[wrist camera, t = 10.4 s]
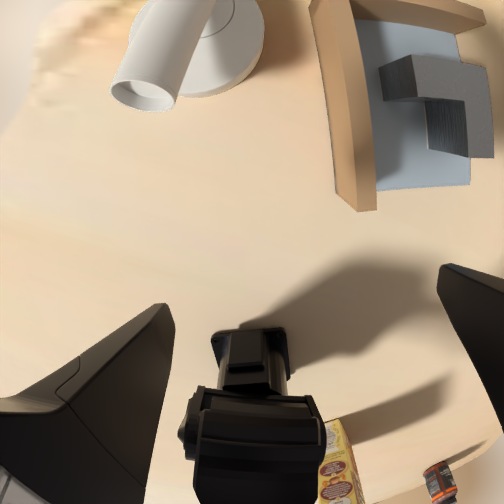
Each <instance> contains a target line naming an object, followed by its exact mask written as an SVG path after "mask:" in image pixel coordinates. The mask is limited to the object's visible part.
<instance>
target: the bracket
mask: <svg viewBox="0 0 504 504" xmlns="http://www.w3.org/2000/svg"><path fill="white" fill-rule="evenodd" d="M378 71H379V77H380V83H381V89H382V96H383V101H393V102H420V103H424V104H425V113H426V122H427V134H428V149H432V150H437V151H441V152H446V153H450V154H455V155H459V156H463V157H467V158H494V139H493V122H492V111H491V101H490V93H489V86H488V80H487V74H486V68H485V67H481V66H477V65H472V64H468V63H463V62H458V61H453V60H448V59H442V58H436V57H430V56H422V55H415V54H410V55H407V56H405V57H402V58H400V59H397V60H395V61H393V62H390V63H388V64H385V65H383V66H381V67H378Z"/></svg>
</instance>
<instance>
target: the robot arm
mask: <svg viewBox="0 0 504 504" xmlns="http://www.w3.org/2000/svg"><path fill="white" fill-rule="evenodd" d="M437 293H438V295H439V297H440V300H441V302H442V304H443V306H444V308H445V310H446V312H447V314H448V317H449V319H450V321H451V323H452V325H453V327H454V329H455V331H456V333H457V335H458V337H459V338H460V340H461V342H462V344H463V346H464V347H465V349H466V351H467V353H468V355H469V357H470V359H471V361H472V363H473V365H474V367H475V369H476V371H477V373H478V375H479V377H480V379H481V381H482V383H483V385H484V387H485V389H486V392H487V394H488V396H489V398H490V400H491V403H492V405H493V407H494V410H495V412H496V415H497V417H498V419H499V422H500V424H501V426H502V430H503V433H504V279H502V278H499V277H495V276H492V275H489V274H486V273H483V272H479V271H476V270H473V269H469V268H466V267H463V266H459V265H456V264H452V263H448V264H443V265H441V266H440V269H439V275H438V282H437ZM278 333H282V334H278ZM174 338H175V323H174V320H173V317H172V314H171V311H170V308H169V306H168V304H166V303H158V304H154V305H152V306H151V307H149V308H148V309H146V310H145V311H143V312H142V313H140V314H139V315H137V316H136V317H135V318H133V319H132V320H130V321H129V322H127V323H126V324H124V325H123V326H121V327H120V328H118V329H117V330H115V331H114V332H113V333H111V334H110V335H108V336H107V337H105V338H104V339H102V340H101V341H99V342H98V343H96V344H95V345H94V346H92V347H91V348H89V349H88V350H86V351H85V352H83V353H82V354H81V355H80V356H77V357H76V358H75V359H73V360H72V361H70V362H69V363H67V364H66V365H64V366H63V367H61V368H60V369H58V370H57V371H55V372H53V373H52V374H50V375H48V376H47V377H45V378H43V379H42V380H40V381H38V382H37V383H35V384H33V385H32V386H30V387H28V388H27V389H25V390H23V391H22V392H20V393H18V394H16V395H14V396H11V397H6V398H0V504H143V503H144V497H145V491H146V489H145V488H146V484H147V479H148V473H149V468H150V463H151V458H152V453H153V448H154V443H155V438H156V433H157V428H158V424H159V419H160V414H161V410H162V405H163V401H164V397H165V392H166V388H167V384H168V379H169V375H170V370H171V364H172V355H173V347H174ZM215 339H218V341H217V340H215ZM211 344H212V348H213V351H214V354H215V357H216V361H217V364H218V367H219V377H218V384H217V389H212V388H205V386H199V385H198V388H197V391H196V393H194V394H193V398H191V399H189V402H188V406H187V411H186V415H185V417H184V419H183V421H182V423H181V425H180V427H179V429H178V438H179V439H180V440H181V442H182V443H183V447H184V450H185V458H186V460H192V461H195V466H194V476H193V488H194V490H195V493H196V496H197V498H198V500H199V502H200V504H314V503H315V502H316V500H317V498H318V470H319V467H320V466H321V464H322V463H323V460H324V458H325V454H326V447H327V433H326V428H325V425H324V422H323V420H322V418H321V415H320V413H319V411H318V409H317V406H316V404H315V402H314V399H313V397H312V395H305V396H288V392H287V382H286V381H288V380H289V379H290V367H289V358H288V348H287V338H286V331H285V329H284V328H282V327H279V328H270V329H262V330H252V331H242V332H232V333H221V334H214V335H212V337H211Z"/></svg>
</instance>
